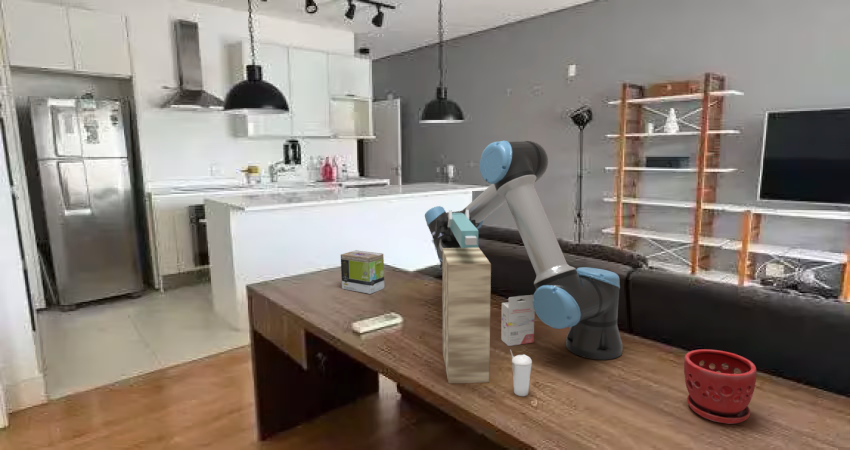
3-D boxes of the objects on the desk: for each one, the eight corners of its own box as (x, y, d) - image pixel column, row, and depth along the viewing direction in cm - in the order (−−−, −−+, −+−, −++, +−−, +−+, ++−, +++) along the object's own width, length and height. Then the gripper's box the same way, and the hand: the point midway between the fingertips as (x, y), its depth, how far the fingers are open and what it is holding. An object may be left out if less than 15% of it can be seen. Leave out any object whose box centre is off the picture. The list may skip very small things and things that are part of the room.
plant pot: (724, 395, 109) (729, 346, 107) (766, 428, 96) (773, 374, 94) (668, 396, 109) (672, 347, 107) (703, 430, 96) (709, 375, 94)
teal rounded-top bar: (449, 226, 140) (448, 212, 139) (462, 225, 140) (462, 212, 139) (462, 250, 108) (462, 233, 107) (480, 249, 108) (480, 232, 107)
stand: (442, 351, 134) (442, 248, 128) (477, 350, 134) (478, 247, 129) (448, 383, 116) (448, 264, 111) (489, 382, 116) (490, 263, 111)
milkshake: (514, 385, 115) (515, 346, 113) (534, 392, 112) (535, 352, 110) (504, 392, 111) (505, 352, 110) (525, 400, 108) (526, 359, 106)
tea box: (385, 288, 193) (384, 253, 191) (369, 295, 185) (368, 258, 183) (357, 283, 201) (355, 249, 199) (341, 289, 193) (339, 253, 190)
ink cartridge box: (526, 336, 144) (527, 290, 141) (534, 342, 139) (535, 295, 137) (500, 339, 142) (501, 292, 139) (507, 346, 137) (508, 297, 134)
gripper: (478, 251, 152) (490, 226, 130) (425, 252, 151) (428, 227, 129) (477, 229, 154) (488, 201, 132) (424, 230, 153) (427, 202, 132)
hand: (459, 214), depth 131 cm, fingers closed on teal rounded-top bar, 4 cm apart
